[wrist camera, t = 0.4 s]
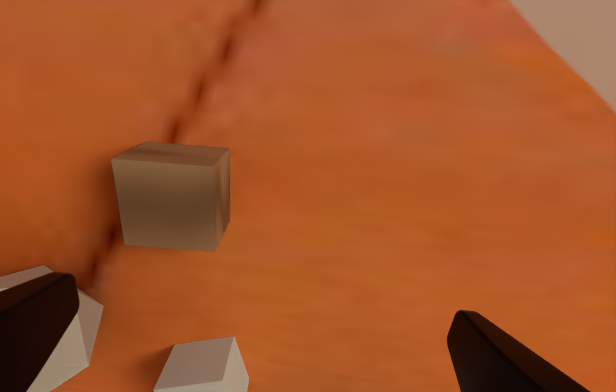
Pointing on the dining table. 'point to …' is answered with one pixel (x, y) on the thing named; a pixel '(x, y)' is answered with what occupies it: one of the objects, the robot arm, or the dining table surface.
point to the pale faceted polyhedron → (75, 341)
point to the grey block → (204, 368)
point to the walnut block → (173, 195)
